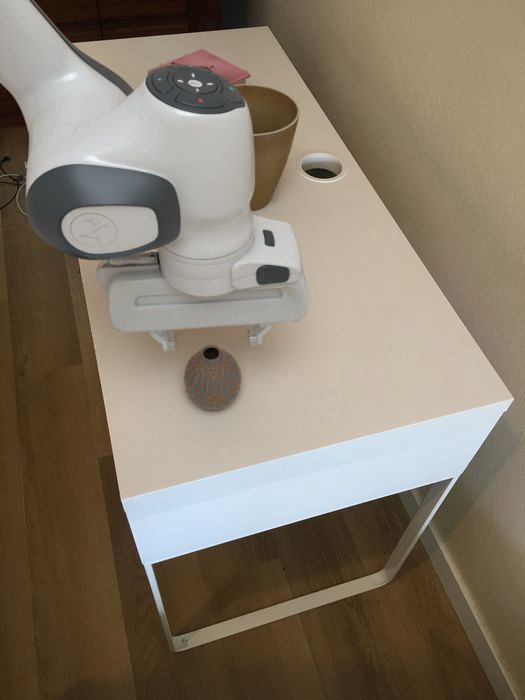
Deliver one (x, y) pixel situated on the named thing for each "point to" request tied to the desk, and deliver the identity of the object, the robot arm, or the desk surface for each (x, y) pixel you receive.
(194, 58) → the book
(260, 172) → the plant pot
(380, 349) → the desk surface
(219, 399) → the vase
